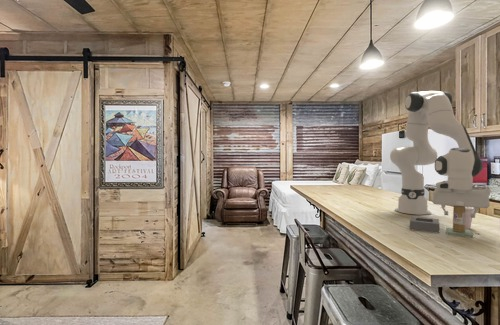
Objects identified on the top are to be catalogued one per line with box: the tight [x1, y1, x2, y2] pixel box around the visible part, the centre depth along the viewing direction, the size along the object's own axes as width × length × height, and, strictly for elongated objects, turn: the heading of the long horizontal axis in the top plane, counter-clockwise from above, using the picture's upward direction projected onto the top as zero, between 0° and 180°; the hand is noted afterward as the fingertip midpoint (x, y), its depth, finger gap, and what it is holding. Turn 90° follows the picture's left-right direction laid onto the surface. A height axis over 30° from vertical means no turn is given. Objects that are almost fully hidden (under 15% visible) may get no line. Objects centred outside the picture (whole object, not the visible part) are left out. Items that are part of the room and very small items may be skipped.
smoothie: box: [465, 207, 475, 230], centre depth 135 cm, size 6×6×14 cm
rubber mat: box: [445, 227, 474, 238], centre depth 126 cm, size 9×9×1 cm
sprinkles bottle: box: [452, 201, 466, 232], centre depth 126 cm, size 5×5×13 cm
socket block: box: [409, 215, 441, 234], centre depth 134 cm, size 11×11×4 cm
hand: (459, 216), depth 126 cm, fingers open, 8 cm apart
